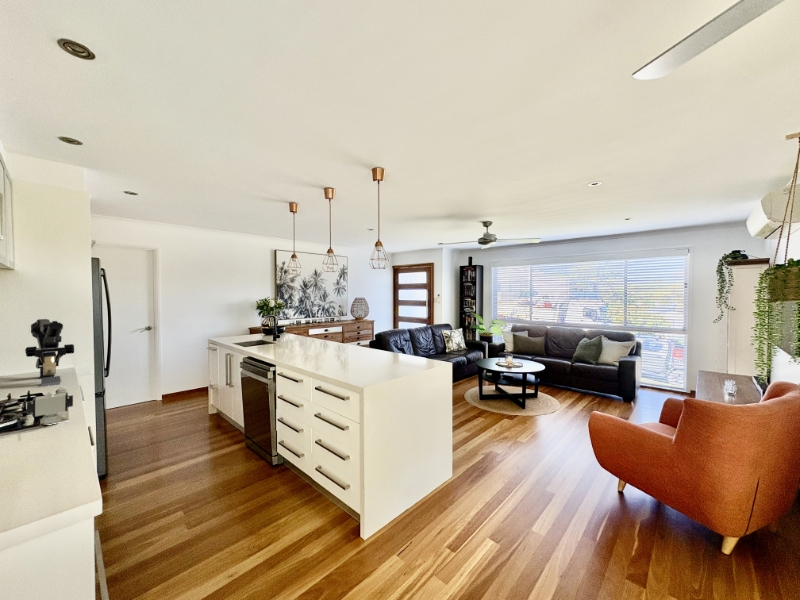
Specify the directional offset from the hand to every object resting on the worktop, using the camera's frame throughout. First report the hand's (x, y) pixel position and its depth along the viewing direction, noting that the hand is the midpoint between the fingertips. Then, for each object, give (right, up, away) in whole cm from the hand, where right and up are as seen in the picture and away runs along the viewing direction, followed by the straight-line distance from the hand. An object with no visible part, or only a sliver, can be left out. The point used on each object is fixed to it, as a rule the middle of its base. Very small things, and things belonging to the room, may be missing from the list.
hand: (49, 362), depth 178 cm
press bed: (0, -13, +1) cm, 13 cm away
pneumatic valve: (+64, -13, -57) cm, 86 cm away
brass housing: (-1, -7, +1) cm, 7 cm away
